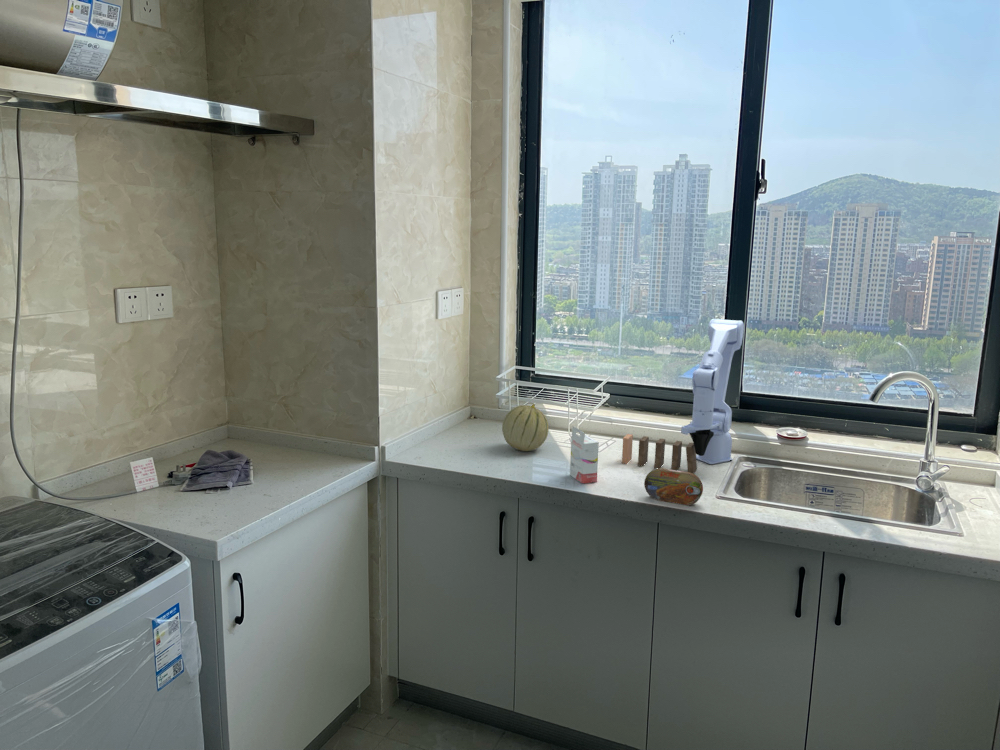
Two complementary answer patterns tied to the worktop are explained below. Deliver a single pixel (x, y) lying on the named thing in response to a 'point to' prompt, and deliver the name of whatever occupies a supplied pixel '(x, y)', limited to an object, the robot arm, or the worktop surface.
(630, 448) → the domino
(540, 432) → the cantaloupe
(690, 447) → the domino
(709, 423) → the robot arm
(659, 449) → the domino
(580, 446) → the ink cartridge box
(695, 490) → the tin
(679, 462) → the domino
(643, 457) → the domino
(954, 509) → the worktop surface
